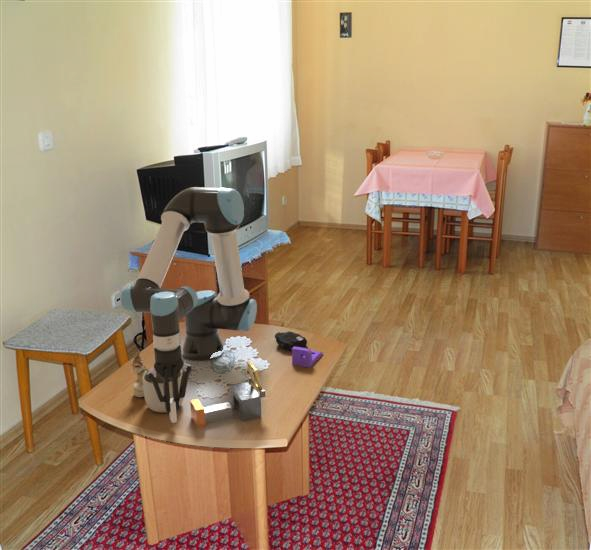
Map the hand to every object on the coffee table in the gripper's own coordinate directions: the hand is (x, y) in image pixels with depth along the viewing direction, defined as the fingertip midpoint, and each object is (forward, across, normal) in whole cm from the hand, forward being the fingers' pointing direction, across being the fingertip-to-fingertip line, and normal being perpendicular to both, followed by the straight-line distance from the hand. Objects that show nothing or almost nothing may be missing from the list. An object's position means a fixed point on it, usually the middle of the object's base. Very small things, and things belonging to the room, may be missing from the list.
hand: (173, 420), depth 193 cm
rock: (+2, +52, +42) cm, 67 cm away
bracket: (+3, +55, +26) cm, 61 cm away
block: (+2, +23, 0) cm, 23 cm away
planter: (+3, +1, +14) cm, 14 cm away
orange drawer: (+3, +13, 0) cm, 13 cm away
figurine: (+3, -3, +25) cm, 26 cm away
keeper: (-5, +26, 0) cm, 27 cm away
